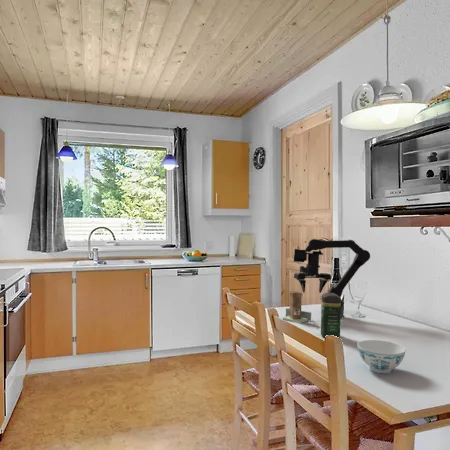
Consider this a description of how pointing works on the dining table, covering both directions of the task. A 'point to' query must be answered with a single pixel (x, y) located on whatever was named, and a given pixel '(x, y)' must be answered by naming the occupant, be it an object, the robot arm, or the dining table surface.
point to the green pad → (295, 319)
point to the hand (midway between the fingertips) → (311, 292)
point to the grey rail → (303, 314)
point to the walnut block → (295, 304)
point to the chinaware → (381, 354)
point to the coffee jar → (330, 314)
